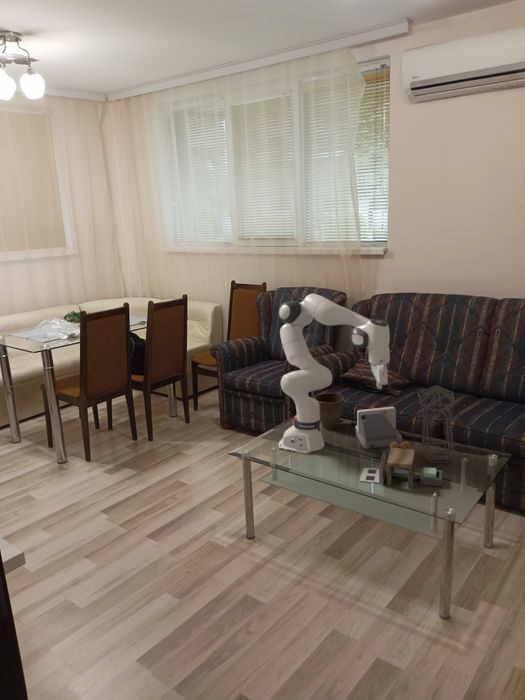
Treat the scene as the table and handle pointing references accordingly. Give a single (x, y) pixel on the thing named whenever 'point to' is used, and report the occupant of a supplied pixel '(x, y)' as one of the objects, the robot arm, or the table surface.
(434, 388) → the geometric lantern
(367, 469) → the pit board
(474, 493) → the table surface
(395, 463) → the tunnel
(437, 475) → the sled collar
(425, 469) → the block
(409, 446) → the lion figurine
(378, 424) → the instant camera
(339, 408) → the plant pot
